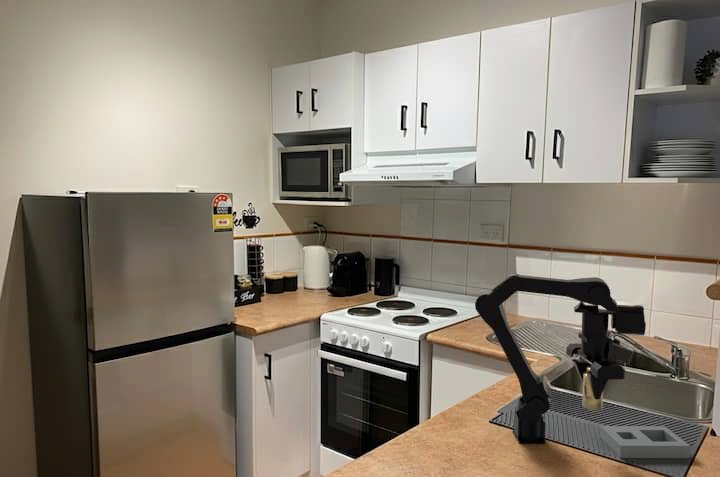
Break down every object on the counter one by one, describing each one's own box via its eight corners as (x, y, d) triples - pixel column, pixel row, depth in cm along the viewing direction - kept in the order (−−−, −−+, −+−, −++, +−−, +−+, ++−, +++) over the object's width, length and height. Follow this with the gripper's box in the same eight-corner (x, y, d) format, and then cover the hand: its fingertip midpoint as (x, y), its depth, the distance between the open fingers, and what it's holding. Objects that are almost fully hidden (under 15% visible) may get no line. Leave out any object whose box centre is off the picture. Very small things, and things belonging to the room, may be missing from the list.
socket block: (620, 458, 118) (620, 445, 118) (600, 437, 128) (600, 426, 128) (689, 458, 118) (690, 445, 118) (664, 437, 128) (664, 426, 128)
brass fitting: (587, 410, 120) (588, 371, 120) (579, 402, 125) (580, 365, 124) (605, 410, 120) (607, 371, 119) (597, 403, 125) (598, 365, 124)
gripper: (650, 342, 112) (647, 411, 113) (610, 321, 130) (608, 381, 131) (599, 342, 112) (597, 411, 113) (566, 321, 130) (564, 381, 132)
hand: (592, 395), depth 122 cm, fingers closed on brass fitting, 4 cm apart
